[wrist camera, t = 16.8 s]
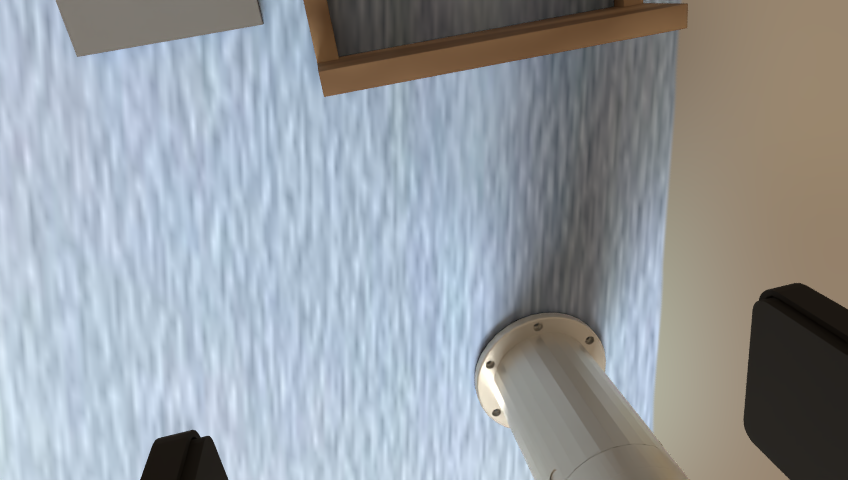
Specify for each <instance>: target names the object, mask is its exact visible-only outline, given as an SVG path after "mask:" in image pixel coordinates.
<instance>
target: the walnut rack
mask: <svg viewBox="0 0 848 480" xmlns="http://www.w3.org/2000/svg"><path fill="white" fill-rule="evenodd" d="M303 1H304V5H305V10H306V14H307V19H308V23H309V27H310V32H311V36H312V41H313V45H314V50H315V54H316V59H317V64H318V71H319V76H320V80H321V85H322V89H323V94H324V97H326V96H331V95H337V94H342V93H347V92H353V91H358V90H363V89H368V88H374V87H379V86H384V85H389V84H395V83H400V82H405V81H411V80H416V79H421V78H426V77H432V76H437V75H442V74H447V73H453V72H458V71H463V70H469V69H474V68H479V67H484V66H490V65H495V64H500V63H505V62H511V61H516V60H521V59H527V58H532V57H537V56H542V55H548V54H553V53H558V52H564V51H569V50H574V49H579V48H585V47H590V46H595V45H600V44H606V43H611V42H616V41H622V40H627V39H632V38H637V37H643V36H648V35H653V34H658V33H664V32H669V31H674V30H680V29H685V28H687V13H688V12H687V11H688V4H673V3H643V0H614V7H609V8H604V9H598V10H593V11H587V12H582V13H576V14H571V15H565V16H560V17H554V18H549V19H543V20H538V21H533V22H527V23H522V24H516V25H511V26H505V27H500V28H494V29H489V30H483V31H478V32H472V33H467V34H461V35H456V36H451V37H445V38H440V39H434V40H429V41H423V42H418V43H412V44H407V45H401V46H396V47H390V48H385V49H379V50H374V51H369V52H363V53H358V54H352V55H347V56H341V57H338V52H337V47H336V42H335V38H334V33H333V28H332V23H331V18H330V14H329V9H328V4H327V0H303Z"/></svg>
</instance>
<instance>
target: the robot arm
mask: <svg viewBox="0 0 848 480" xmlns="http://www.w3.org/2000/svg"><path fill="white" fill-rule="evenodd" d="M605 366H606V358H605V351H604V348H603V346H602V343H601V341H600V339H599V338H598V337H597V335H596V334H595V333H594V331H593V330H592V329H591V328H590V327H589V326H588V325H587V324H585V323H584V322H582V321H581V320H579V319H578V318H575V317H573V316H570V315H567V314H561V313H540V314H535V315H530V316H528V317H525V318H522V319H519V320H517V321H516V322H514V323H512V324H510V325H508V326H507V327H505V328H504V329H503V330H502V331H500V332H499V333H498V334H497V335H496V336H495V337H494V338H493V339H492V340H491V341H490V342H489V343H488V345H487V346H486V348H485V349H484V351H483V352H482V354H481V356H480V359H479V361H478V364H477V366H476V372H475V389H476V393H477V397H478V399H479V401H480V403H481V406H482V408H483V409H484V410H485V412H486V413H487V415H488V416H489V417H491V418H492V419H493V420H494V421H495V422H497V423H499V424H501V425H503V426H504V427H507V428H510V429H511V431H512V433H513V435H514V437H515V439H516V441H517V443H518V446H519V448H520V450H521V452H522V454H523V456H524V458H525V460H526V463H527V465H528V467H529V469H530V471H531V473H532V475H533V477H534V480H690V479H689V478H688V477H687V475H686V474H685V473H684V472H683V470H682V469H681V468H680V467H679V465H678V464H677V463H676V462H675V460H674V459H673V458H672V457H671V456H670V454H669V453H668V452H667V450H666V449H665V448H664V447H663V445H662V444H661V443H660V441H659V440H658V439H657V438H656V436H655V435H654V434H653V433H652V431H651V430H650V429H649V428H648V426H647V425H646V424H645V423H644V421H643V420H642V419H641V418H640V416H639V415H638V414H637V413H636V411H635V410H634V409H633V407H632V406H631V405H630V404H629V402H628V401H627V400H626V399H625V397H624V396H623V395H622V394H621V392H620V391H619V390H618V389H617V387H616V386H615V385H614V384H613V382H612V381H611V380H610V379H609V377H608V376H607V375H606V374H605ZM744 427H745V430H746V433H747V435H748V436H749V438H750V440H751V441H752V442H753V443H754V444H755V445H756V446H757V447H758V448H759V449H760V450H761V451H762V452H763V453H764V454H765V455H766V456H767V457H768V458H769V459H770V460H771V461H772V462H773V463H774V464H775V465H776V466H777V467H778V468H779V469H780V470H781V471H782V472H783V473H784V474H785V475H786V476H787V477H788V478H789V479H790V480H848V309H846V308H845V307H843V306H841V305H839V304H838V303H836V302H834V301H832V300H830V299H829V298H827V297H825V296H824V295H822V294H820V293H818V292H817V291H815V290H813V289H811V288H810V287H808V286H806V285H803V284H801V283H794V284H789V285H785V286H781V287H777V288H773V289H769V290H766V291H764V292H763V293H762V294H761V296H760V298H759V301H757V302H756V303H755V304H754V306H753V312H752V325H751V337H750V349H749V360H748V373H747V385H746V398H745V409H744ZM140 480H228V477H227V475H226V472H225V470H224V467H223V465H222V462H221V460H220V457H219V455H218V452H217V449H216V447H215V444H214V442H213V440H212V438H211V437H210V436H205V437H200V435H199V434H198V433H197V431H196V430H190V431H186V432H182V433H178V434H174V435H170V436H166V437H161V438H158V439H156V440H155V441H154V443H153V445H152V448H151V451H150V454H149V456H148V459H147V462H146V465H145V468H144V471H143V474H142V476H141V479H140Z"/></svg>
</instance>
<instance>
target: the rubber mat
mask: <svg viewBox="0 0 848 480" xmlns="http://www.w3.org/2000/svg"><path fill="white" fill-rule="evenodd" d="M56 3H57V5H58V8H59V10H60V13H61V16H62V18H63V21H64V23H65V26H66V29H67V31H68V34H69V37H70V39H71V42H72V44H73V47H74V50H75V52H76V55H77V57H79V56H85V55H90V54H96V53H102V52H108V51H113V50H119V49H125V48H131V47H136V46H142V45H148V44H153V43H159V42H165V41H171V40H176V39H182V38H188V37H194V36H199V35H205V34H211V33H216V32H222V31H228V30H234V29H239V28H245V27H251V26H257V25H262V24H264V23H263V19H262V15H261V11H260V7H259V3H258V0H56Z"/></svg>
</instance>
